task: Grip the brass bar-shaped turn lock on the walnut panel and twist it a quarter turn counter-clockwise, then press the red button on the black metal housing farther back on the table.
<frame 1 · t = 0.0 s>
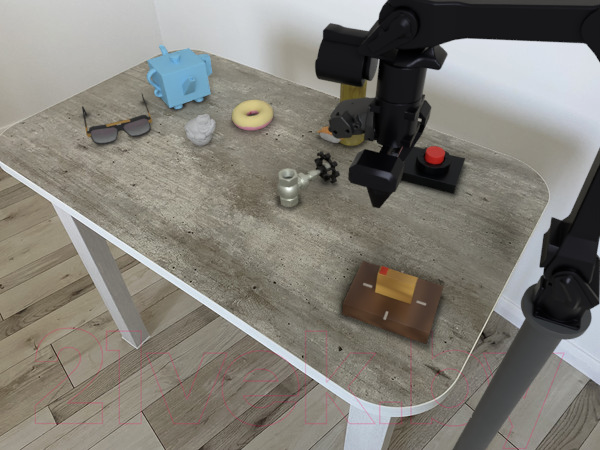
hand: (385, 187, 71), 15 cm above the table, tool pointing down, fingers open, 9 cm apart
sushi: (330, 140, 106), on the table, touching vase
sunglasses: (120, 125, 112), on the table
button: (434, 155, 94), point 4 cm above the table, slide at 0.1 cm
teapot: (184, 97, 120), on the table
button box: (430, 173, 97), on the table
donut: (253, 121, 111), on the table
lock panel: (391, 305, 75), on the table
grey lumpy blob: (203, 144, 106), on the table
vase: (350, 138, 106), on the table, touching sushi
valve: (305, 193, 94), on the table
lock knob: (395, 284, 71), point 5 cm above the table, hinge at 0.0°
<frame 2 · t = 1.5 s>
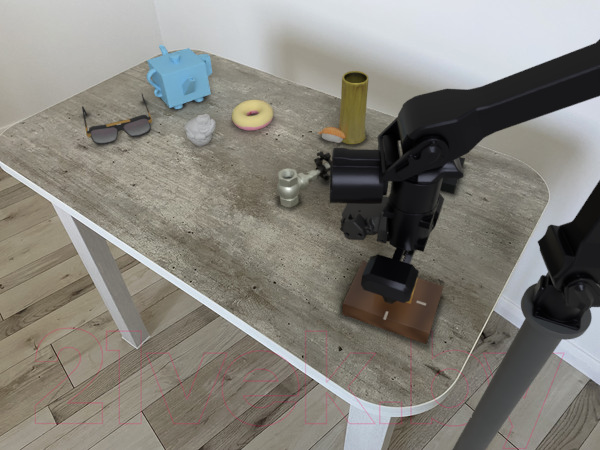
hand: (397, 277, 70), 7 cm above the table, tool pointing down, fingers open, 9 cm apart
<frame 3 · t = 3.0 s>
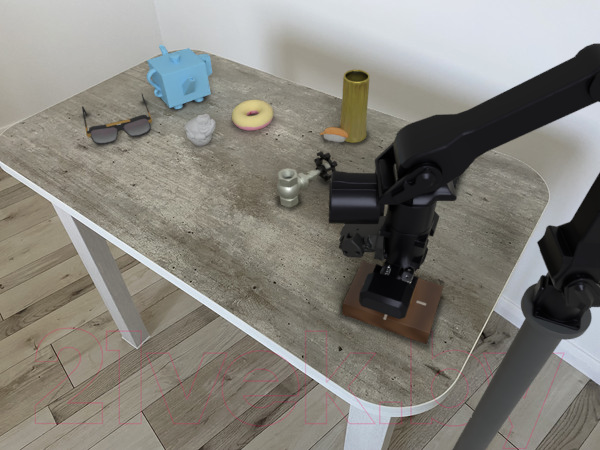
hand: (394, 292, 72), 4 cm above the table, tool pointing down, fingers closed on lock knob, 2 cm apart
lock knob: (395, 284, 71), point 5 cm above the table, hinge at 0.1°, touching gripper
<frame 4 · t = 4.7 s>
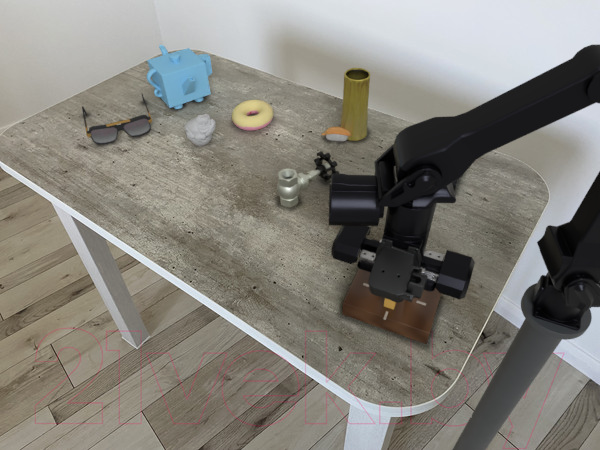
hand: (394, 293, 72), 3 cm above the table, tool pointing down, fingers open, 4 cm apart
lock knob: (395, 284, 71), point 5 cm above the table, hinge at 89.7°
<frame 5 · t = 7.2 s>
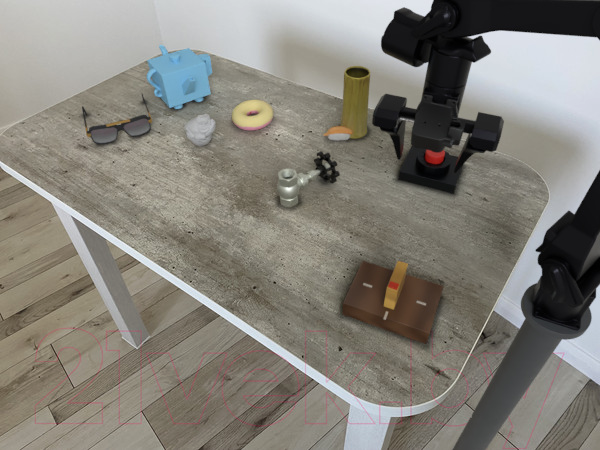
hand: (426, 164, 79), 12 cm above the table, tool pointing down, fingers open, 9 cm apart
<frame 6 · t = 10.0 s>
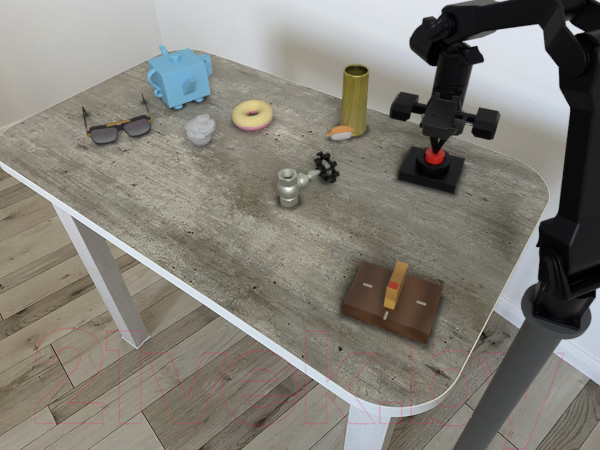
hand: (435, 152, 93), 5 cm above the table, tool pointing down, fingers closed, pressing on button
sushi: (339, 138, 106), on the table, touching vase
button: (434, 156, 94), point 4 cm above the table, slide at -0.1 cm, touching gripper
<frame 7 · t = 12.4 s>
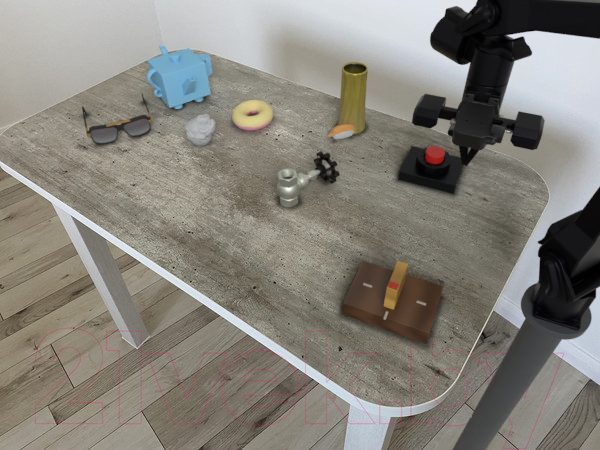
hand: (464, 164, 80), 12 cm above the table, tool pointing down, fingers closed
button: (434, 155, 94), point 4 cm above the table, slide at 0.1 cm
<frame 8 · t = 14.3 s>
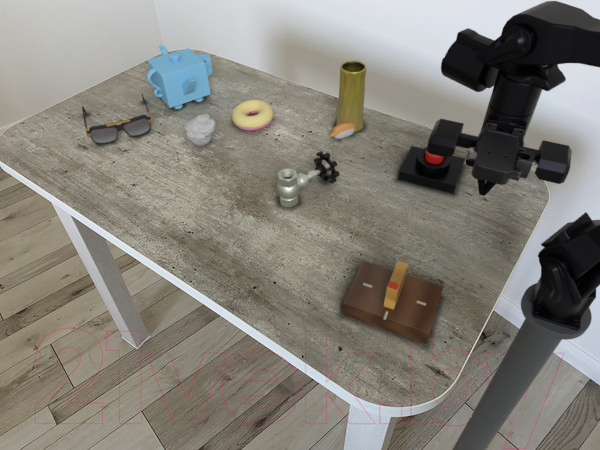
hand: (482, 193, 74), 12 cm above the table, tool pointing down, fingers closed
at the end: lock knob at +90° (first picture: +0°); button pushed in 1.1 cm at the most during the clip, back to where it started at the end; button slide at 0.1 cm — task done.
